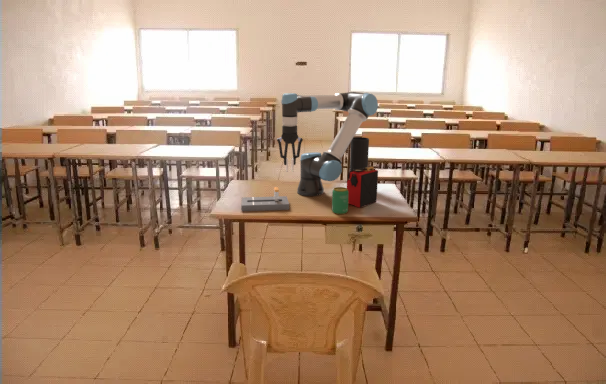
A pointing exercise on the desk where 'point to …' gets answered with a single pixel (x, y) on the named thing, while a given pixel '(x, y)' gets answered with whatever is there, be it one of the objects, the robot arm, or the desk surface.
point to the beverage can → (340, 200)
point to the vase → (359, 153)
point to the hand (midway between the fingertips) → (289, 171)
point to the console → (264, 203)
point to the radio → (362, 186)
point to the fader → (276, 194)
